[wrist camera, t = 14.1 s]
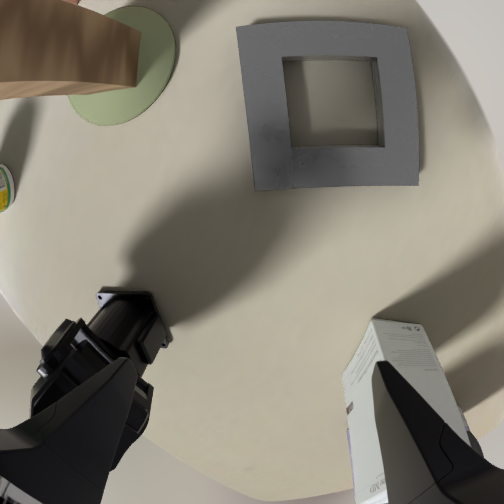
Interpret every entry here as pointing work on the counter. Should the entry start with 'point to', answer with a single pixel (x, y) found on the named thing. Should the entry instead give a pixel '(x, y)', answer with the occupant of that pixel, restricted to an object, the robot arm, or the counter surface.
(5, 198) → the supplement bottle
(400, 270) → the counter surface
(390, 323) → the skincare box
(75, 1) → the terracotta cubby
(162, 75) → the olive mat
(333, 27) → the hole plate
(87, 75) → the walnut block
